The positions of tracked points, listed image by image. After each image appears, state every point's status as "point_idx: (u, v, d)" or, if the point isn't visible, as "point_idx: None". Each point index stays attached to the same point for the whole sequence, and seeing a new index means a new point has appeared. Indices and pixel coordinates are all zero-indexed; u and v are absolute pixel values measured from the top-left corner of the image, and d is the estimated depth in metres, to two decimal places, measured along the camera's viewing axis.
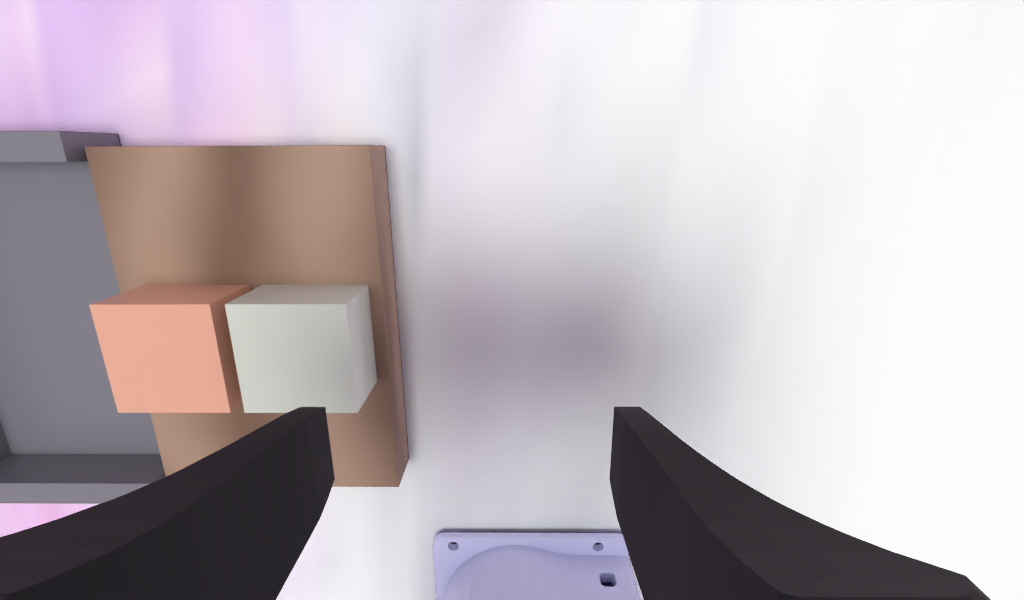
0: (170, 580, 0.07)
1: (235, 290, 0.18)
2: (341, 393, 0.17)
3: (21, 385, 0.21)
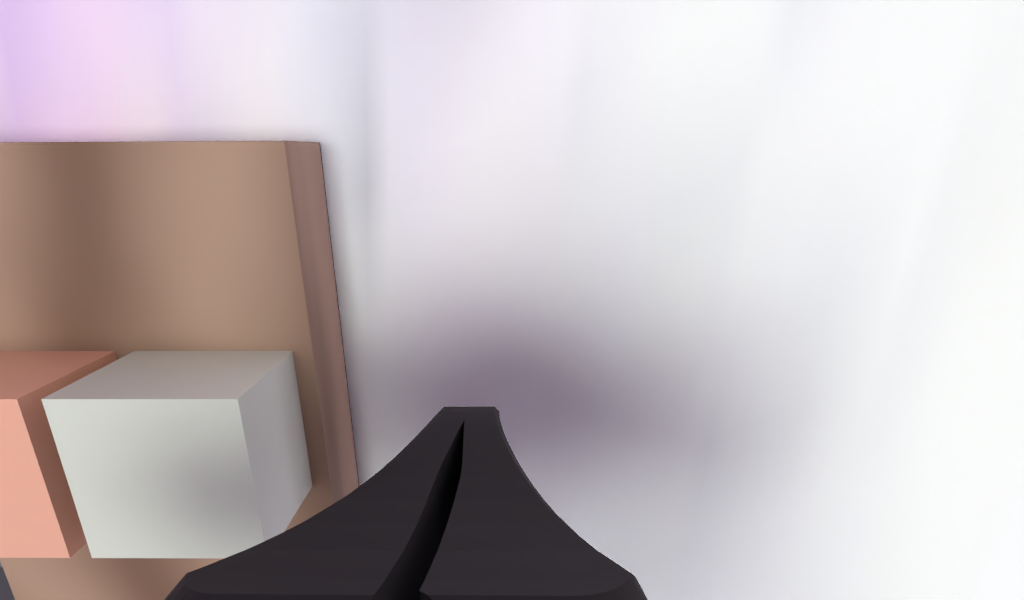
0: (419, 581, 0.07)
1: (83, 365, 0.11)
2: (240, 530, 0.11)
3: None
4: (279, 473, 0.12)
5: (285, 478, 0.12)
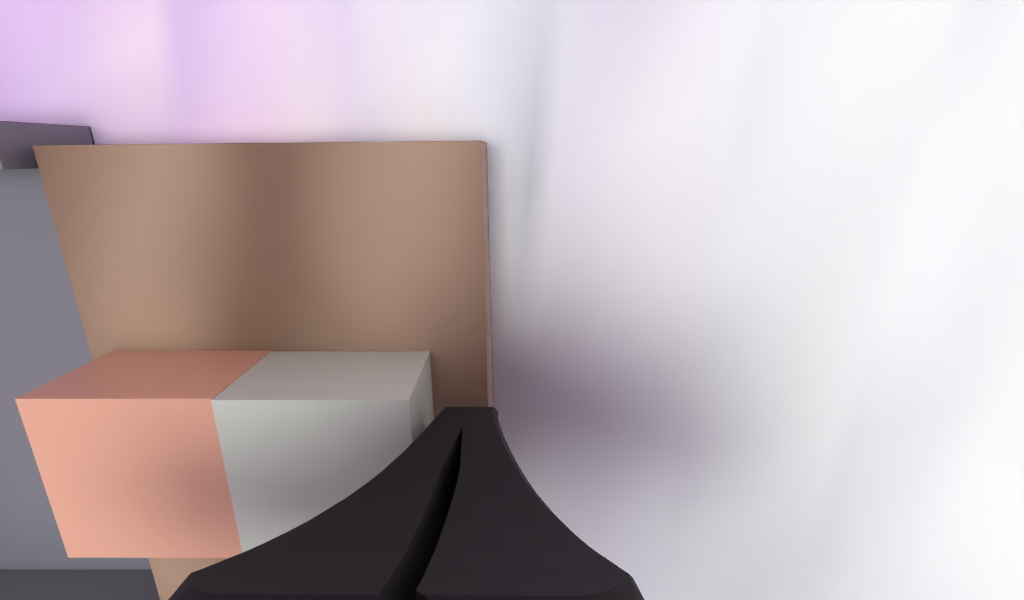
0: None
1: (250, 364, 0.11)
2: None
3: None
4: None
5: None
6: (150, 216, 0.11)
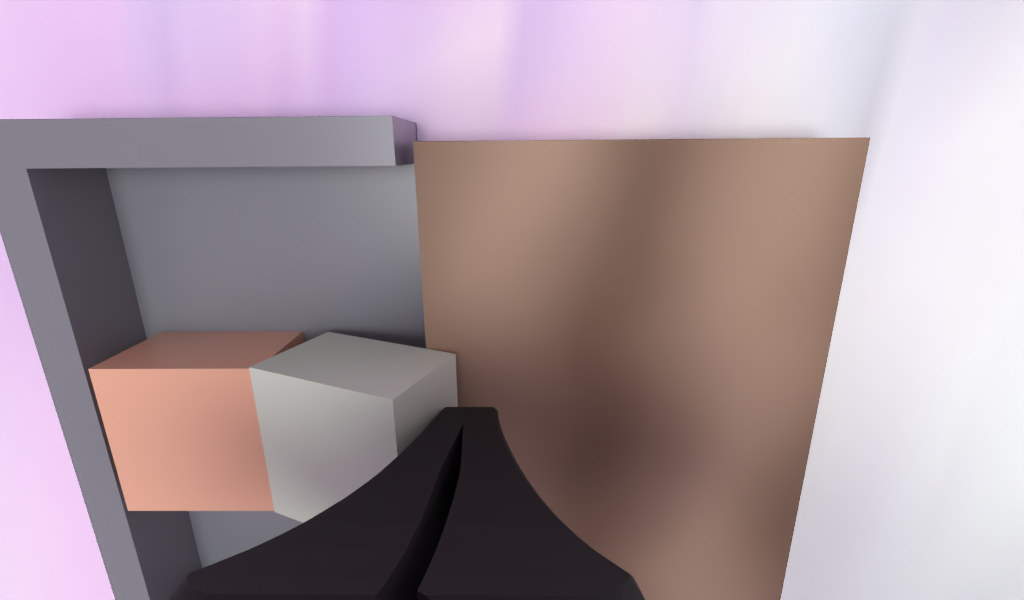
0: (421, 581, 0.07)
1: (286, 342, 0.13)
2: None
3: None
4: None
5: None
6: (517, 213, 0.11)
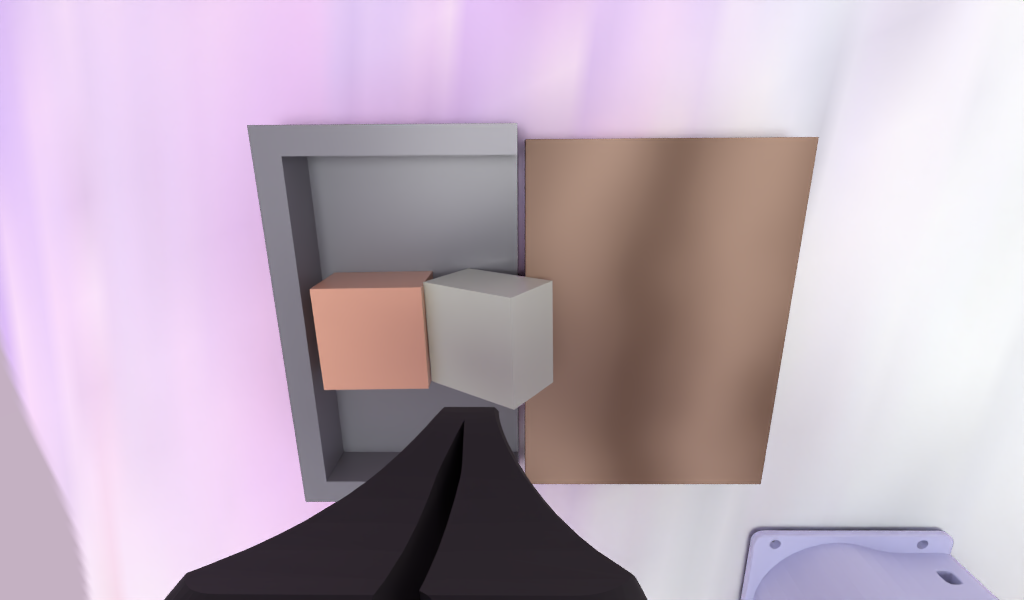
0: (419, 581, 0.07)
1: (427, 276, 0.19)
2: (502, 386, 0.17)
3: None
4: (530, 359, 0.17)
5: (534, 365, 0.17)
6: (590, 186, 0.17)
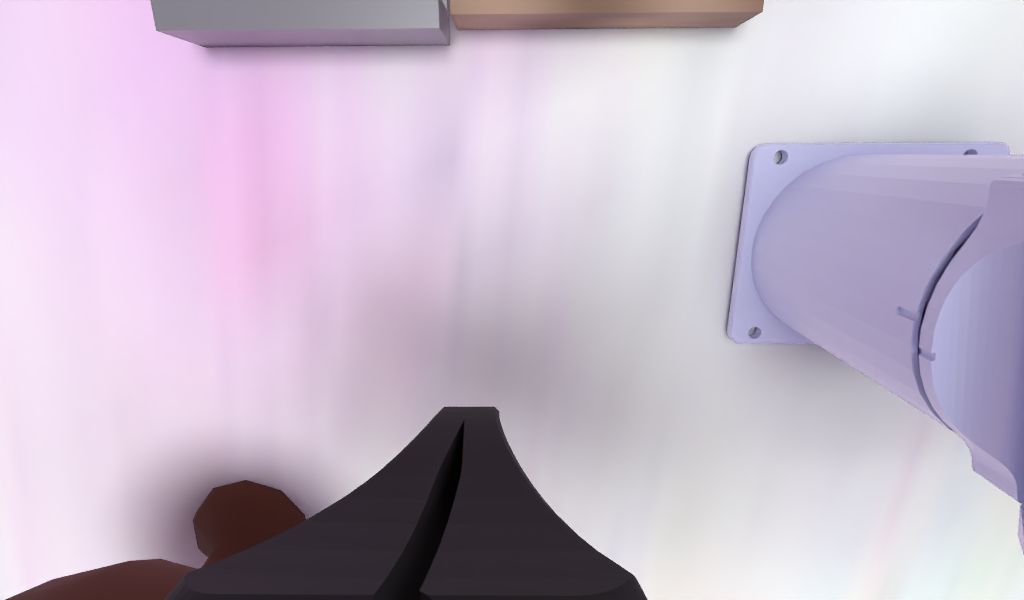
0: (419, 581, 0.07)
1: None
2: None
3: None
4: None
5: None
6: None
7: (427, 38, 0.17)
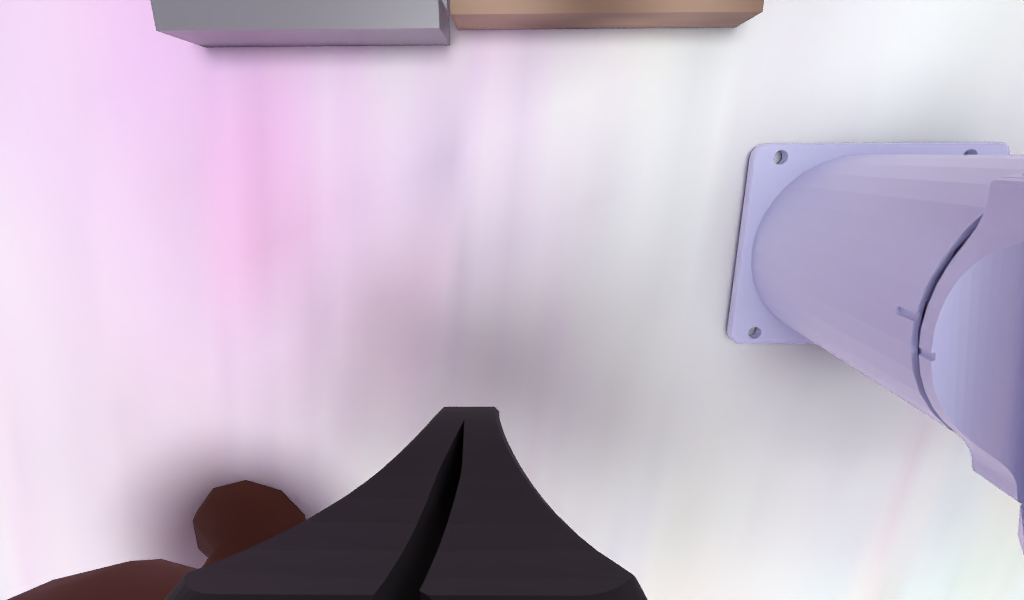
0: (419, 581, 0.07)
1: None
2: None
3: None
4: None
5: None
6: None
7: (427, 38, 0.17)
